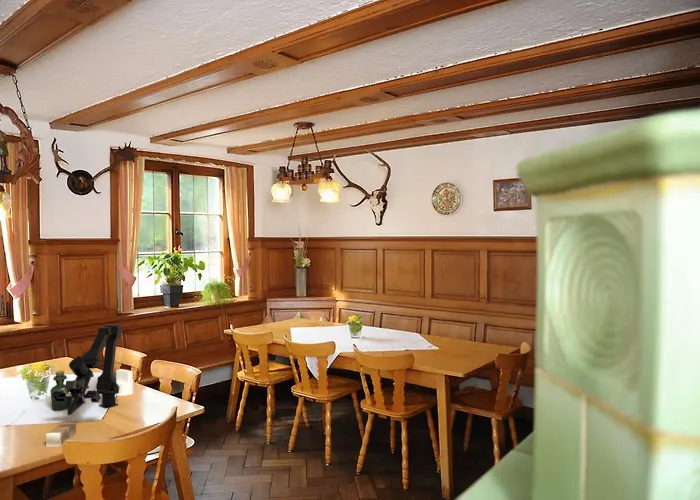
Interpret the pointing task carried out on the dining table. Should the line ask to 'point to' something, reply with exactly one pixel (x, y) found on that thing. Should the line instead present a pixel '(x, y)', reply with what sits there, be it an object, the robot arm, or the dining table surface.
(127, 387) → the white cutaway cylinder
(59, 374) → the potion bottle
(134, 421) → the dining table surface
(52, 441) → the cream and brown block
